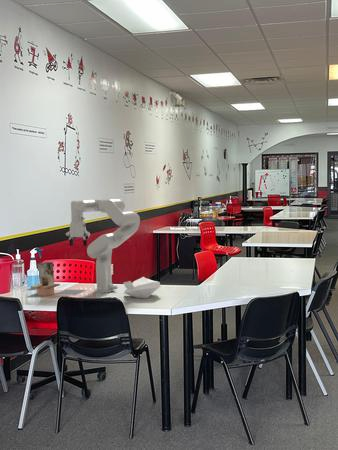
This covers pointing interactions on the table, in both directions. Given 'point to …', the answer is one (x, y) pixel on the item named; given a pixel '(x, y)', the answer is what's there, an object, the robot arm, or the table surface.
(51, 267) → the coffee box
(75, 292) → the mat
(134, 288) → the paper
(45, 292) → the bowl
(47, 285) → the lid
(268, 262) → the table surface
